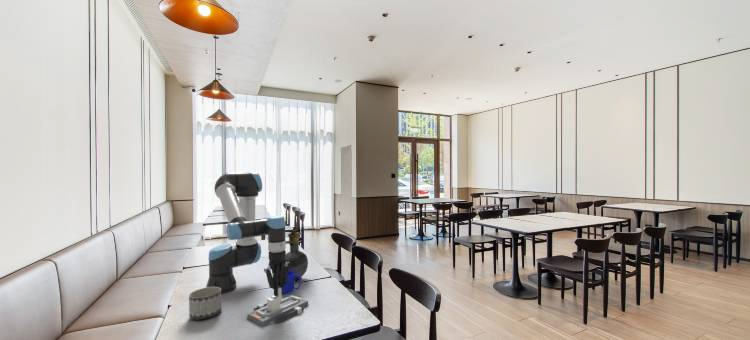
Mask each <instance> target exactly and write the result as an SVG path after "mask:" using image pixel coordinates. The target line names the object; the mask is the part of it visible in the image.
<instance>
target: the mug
mask: <svg viewBox="0 0 750 340" xmlns="http://www.w3.org/2000/svg"><path fill="white" fill-rule="evenodd" d="M295 276H298V277H299V281H298V286H297V287H296V286H295V282H294V281H295ZM301 281H302V279H301V275H295V272H294V271H288V276H287V283H286V284H285V285H283V286H284V287H283V293H282V294H284V295H286V294H290V293H293V292H294V291H295V290H299V289H300V287H301Z"/></svg>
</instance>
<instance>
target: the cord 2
mask: <svg viewBox="0 0 750 340" xmlns="http://www.w3.org/2000/svg"><path fill="white" fill-rule="evenodd" d="M303 311H304V307H298V306H297V307H295V308H294V311H292V312H290V313H287V314H285V315H283V316H281V317H279V318H277V319H276V320H275V323H276V324H279V323H281V322H283V321H285V320H287V319H289V318H291V317H293V316H295V315H300V314H302V313H303Z"/></svg>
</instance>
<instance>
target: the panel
mask: <svg viewBox="0 0 750 340" xmlns="http://www.w3.org/2000/svg"><path fill="white" fill-rule="evenodd" d="M308 305H309V300H307V299H305V298H303V297H300V296H296V295H293V294H292V295H289V296H285V298H282V302H281V303H280V308H279V309H277V310H274V311H272V312H271V311H269V310H267V306H265V307H262V308H260V309H258V310H255V311H254V310H253V311H251V312H248V313H247V314H246V315H247V316H246V319H247V320H250V321H251V322H253V323H256V324H257V325H259V326H261V327H264V326H267V325H269V324H271V323H273V322H276V319H277V318H279V317H281V316H283V315H285V314H287V313H290V312H292V311H294V308H295V307H297V306H298V307H303V308H304V307H307V306H308Z"/></svg>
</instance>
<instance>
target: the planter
mask: <svg viewBox="0 0 750 340" xmlns="http://www.w3.org/2000/svg"><path fill="white" fill-rule="evenodd" d="M188 307H189V308H188V311H189V314H188V315H189V318H190V319H191V320H197V321H199V320H205V319H210V318H212V317H215V316H217V315H219V314H220V312H221V311H222V309H223V308H222V307H223V306H222V293H221V288H219V287H206V286H205V287H201V288H198V289H196V290H193V291H191V292H190V293H189V294H188Z"/></svg>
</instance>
